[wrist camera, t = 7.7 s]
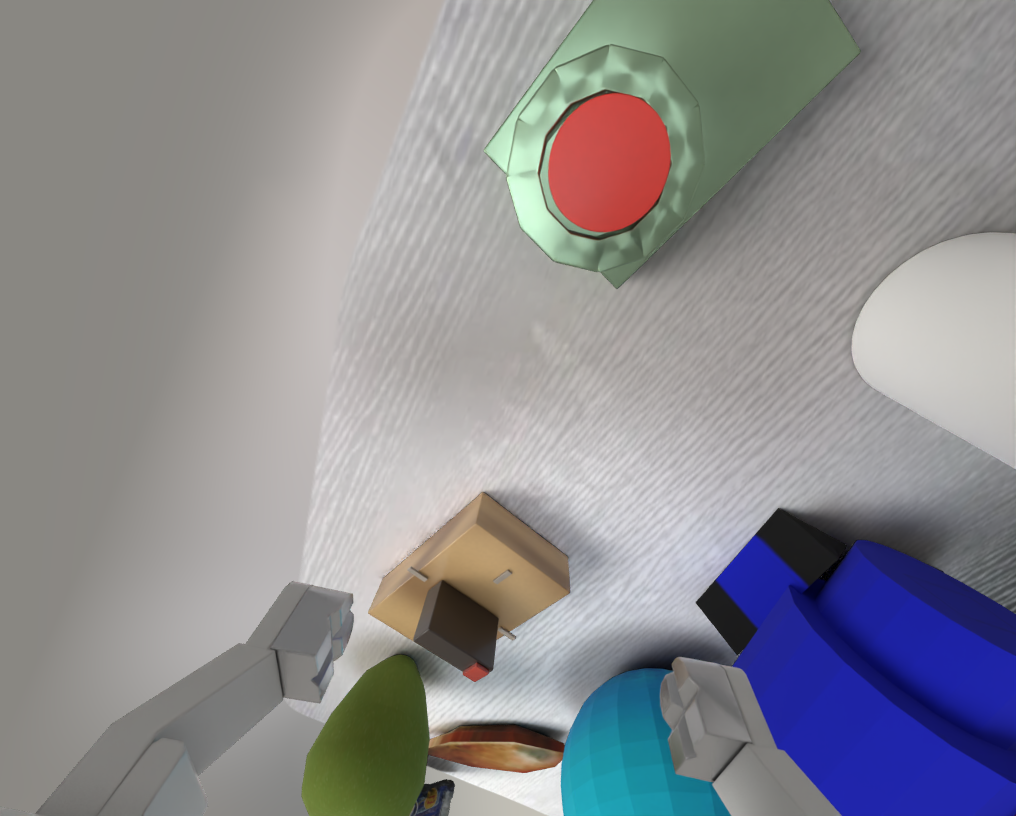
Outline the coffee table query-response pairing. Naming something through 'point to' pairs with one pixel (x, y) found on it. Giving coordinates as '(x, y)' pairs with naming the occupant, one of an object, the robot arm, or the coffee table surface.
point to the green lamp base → (669, 106)
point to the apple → (372, 746)
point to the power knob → (458, 631)
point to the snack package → (434, 799)
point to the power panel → (477, 570)
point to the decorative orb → (628, 756)
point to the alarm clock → (874, 672)
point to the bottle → (948, 339)
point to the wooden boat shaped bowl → (498, 748)
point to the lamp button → (609, 162)
